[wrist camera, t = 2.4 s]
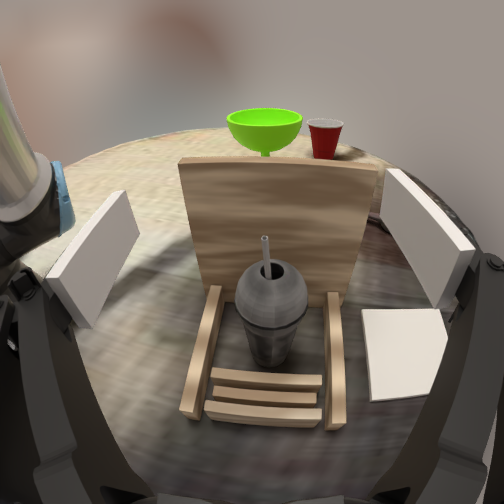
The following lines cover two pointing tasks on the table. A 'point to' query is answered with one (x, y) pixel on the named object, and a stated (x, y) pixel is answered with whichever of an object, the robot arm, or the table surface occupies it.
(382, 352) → the white tile
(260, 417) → the plywood offcuts
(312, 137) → the plastic cup
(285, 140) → the wineglass
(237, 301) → the beverage cup
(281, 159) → the pine rack
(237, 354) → the table surface
